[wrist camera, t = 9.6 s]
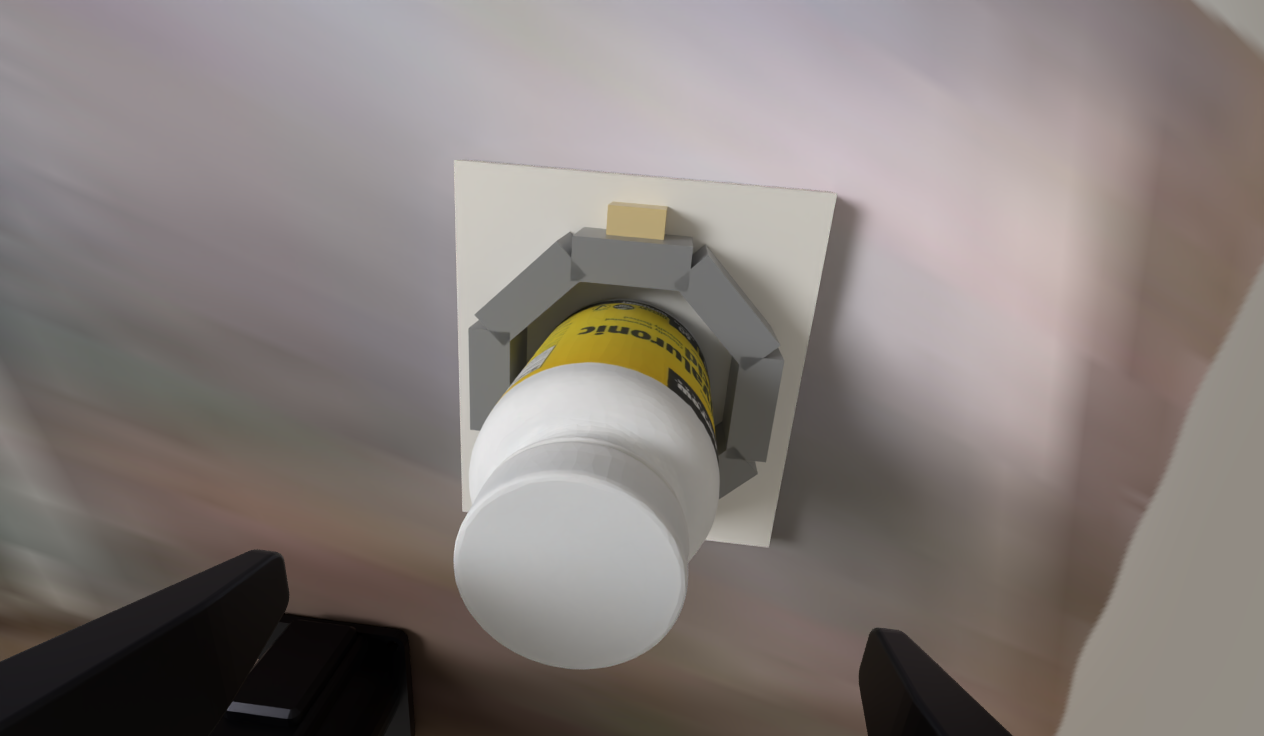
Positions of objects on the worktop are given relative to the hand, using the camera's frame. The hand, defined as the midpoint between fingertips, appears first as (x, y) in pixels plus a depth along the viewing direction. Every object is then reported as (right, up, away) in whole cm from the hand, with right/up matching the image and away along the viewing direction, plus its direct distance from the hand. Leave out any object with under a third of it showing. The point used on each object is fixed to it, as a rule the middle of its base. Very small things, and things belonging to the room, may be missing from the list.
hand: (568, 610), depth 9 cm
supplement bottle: (+1, +4, +10) cm, 11 cm away
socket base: (+1, +4, +11) cm, 12 cm away
